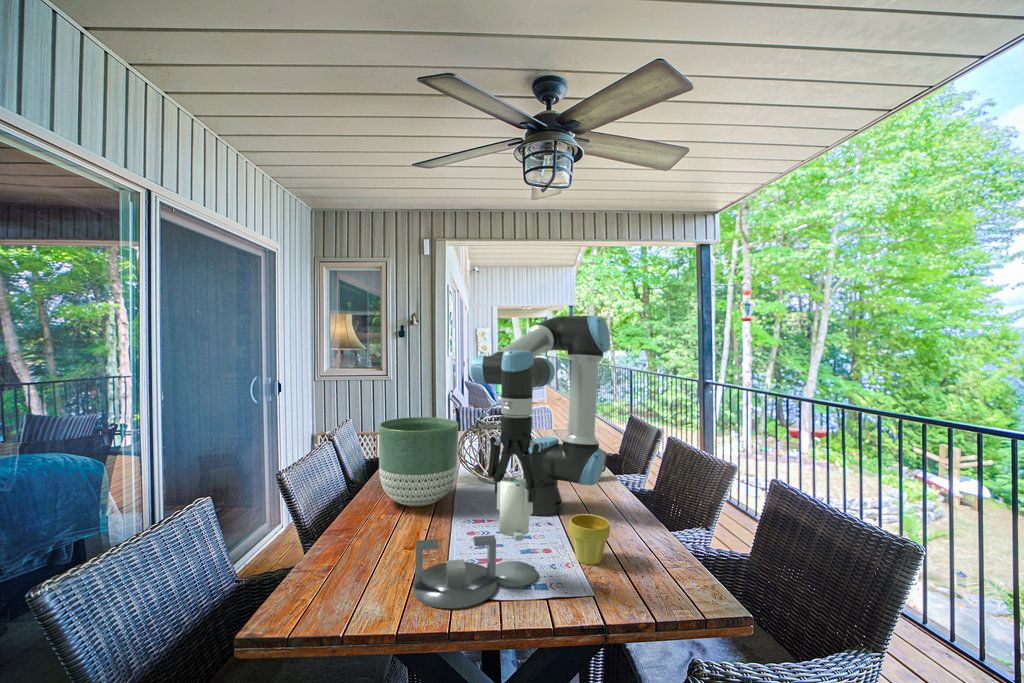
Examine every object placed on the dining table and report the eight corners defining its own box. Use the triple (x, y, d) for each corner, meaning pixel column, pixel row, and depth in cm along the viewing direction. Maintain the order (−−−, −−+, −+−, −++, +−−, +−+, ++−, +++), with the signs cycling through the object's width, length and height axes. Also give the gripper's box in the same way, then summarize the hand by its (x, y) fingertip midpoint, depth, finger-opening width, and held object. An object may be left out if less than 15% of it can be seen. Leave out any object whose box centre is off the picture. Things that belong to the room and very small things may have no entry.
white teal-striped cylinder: (495, 521, 115) (496, 474, 115) (522, 520, 116) (523, 473, 116) (504, 541, 103) (505, 488, 103) (534, 539, 105) (535, 487, 105)
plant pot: (611, 553, 122) (612, 516, 122) (606, 571, 112) (607, 531, 112) (573, 547, 126) (573, 511, 126) (564, 564, 116) (565, 525, 116)
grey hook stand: (489, 562, 116) (490, 521, 116) (504, 604, 98) (505, 556, 98) (413, 568, 112) (413, 526, 112) (412, 613, 94) (413, 563, 94)
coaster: (530, 562, 116) (530, 559, 116) (541, 585, 106) (542, 581, 106) (487, 566, 114) (487, 562, 114) (494, 589, 103) (494, 586, 103)
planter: (360, 509, 151) (362, 426, 151) (407, 485, 175) (408, 414, 175) (431, 522, 141) (432, 434, 141) (470, 495, 166) (471, 420, 166)
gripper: (473, 412, 112) (471, 507, 112) (545, 421, 101) (543, 526, 101) (491, 409, 118) (489, 498, 118) (560, 417, 107) (558, 516, 107)
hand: (514, 511), depth 110 cm, fingers closed on white teal-striped cylinder, 7 cm apart
